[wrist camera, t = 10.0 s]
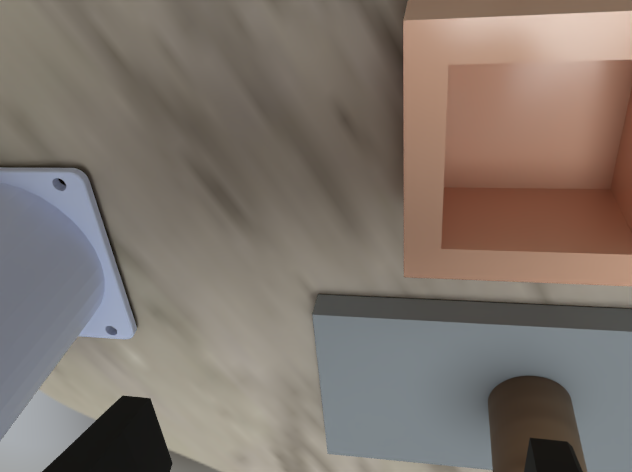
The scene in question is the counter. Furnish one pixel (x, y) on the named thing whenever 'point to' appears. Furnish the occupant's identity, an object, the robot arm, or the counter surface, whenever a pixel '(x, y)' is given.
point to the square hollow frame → (518, 140)
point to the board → (466, 375)
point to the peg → (529, 420)
